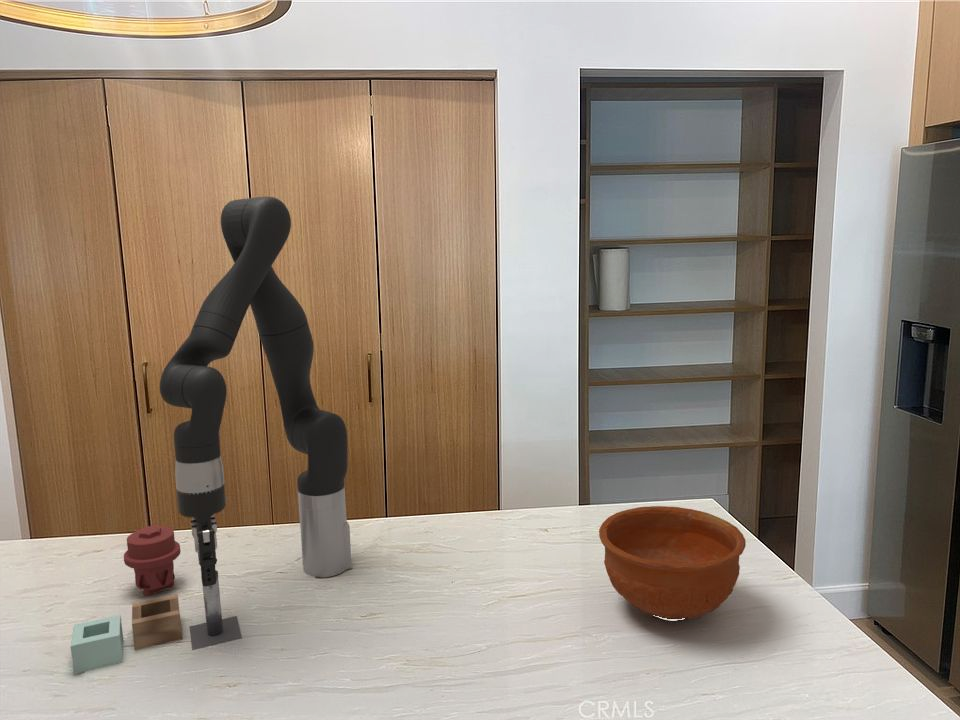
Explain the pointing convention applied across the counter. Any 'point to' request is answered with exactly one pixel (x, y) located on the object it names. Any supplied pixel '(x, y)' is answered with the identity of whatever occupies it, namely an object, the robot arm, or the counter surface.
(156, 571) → the mechanical component
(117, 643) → the teal block
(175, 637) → the wooden square frame
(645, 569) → the bowl
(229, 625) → the mat
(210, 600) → the cylinder
